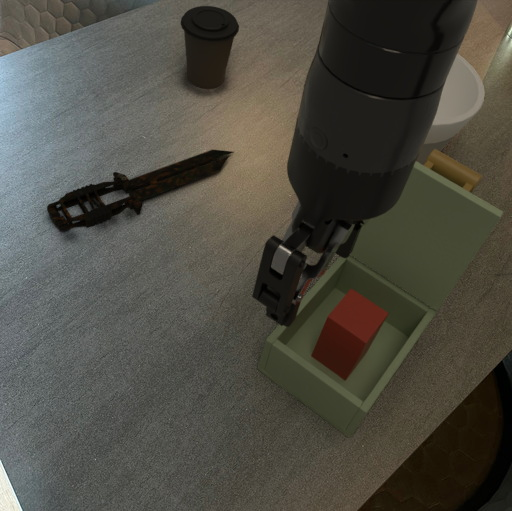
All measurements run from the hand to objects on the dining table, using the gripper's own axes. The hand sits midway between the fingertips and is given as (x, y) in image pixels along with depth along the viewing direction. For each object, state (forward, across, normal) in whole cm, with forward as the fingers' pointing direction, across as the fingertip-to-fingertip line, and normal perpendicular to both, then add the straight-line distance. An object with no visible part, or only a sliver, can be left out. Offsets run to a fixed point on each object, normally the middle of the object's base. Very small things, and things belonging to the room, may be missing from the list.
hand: (310, 282), depth 49 cm
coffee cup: (+19, +34, +37) cm, 54 cm away
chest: (+19, +8, -3) cm, 21 cm away
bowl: (+19, +43, +10) cm, 48 cm away
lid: (+4, +14, -4) cm, 15 cm away
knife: (+19, +12, +28) cm, 36 cm away
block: (+18, +7, -3) cm, 20 cm away
